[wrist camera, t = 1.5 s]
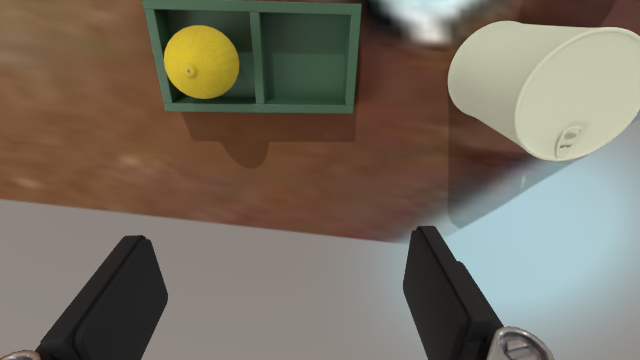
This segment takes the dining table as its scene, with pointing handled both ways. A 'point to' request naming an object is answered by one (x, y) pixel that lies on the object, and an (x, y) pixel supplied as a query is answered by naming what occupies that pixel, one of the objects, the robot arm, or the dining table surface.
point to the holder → (267, 53)
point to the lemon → (201, 62)
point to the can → (549, 85)
